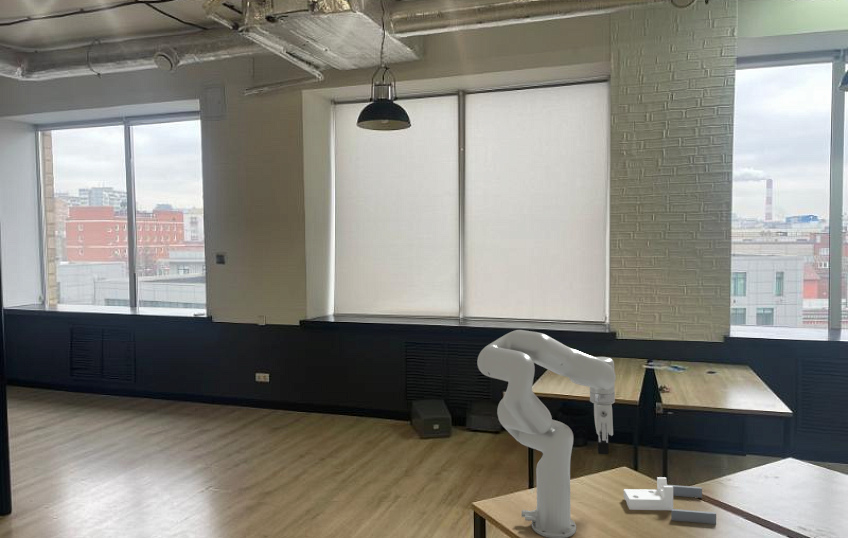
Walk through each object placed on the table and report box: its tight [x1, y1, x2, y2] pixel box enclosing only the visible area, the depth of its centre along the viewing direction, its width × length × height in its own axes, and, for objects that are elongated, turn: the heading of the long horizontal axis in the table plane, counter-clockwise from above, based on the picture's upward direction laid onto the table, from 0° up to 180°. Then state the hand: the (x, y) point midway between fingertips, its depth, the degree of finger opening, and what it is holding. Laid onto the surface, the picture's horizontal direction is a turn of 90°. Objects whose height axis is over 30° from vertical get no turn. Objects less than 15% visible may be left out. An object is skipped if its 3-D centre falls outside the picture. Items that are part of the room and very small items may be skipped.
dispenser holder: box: [667, 484, 717, 525], centre depth 176 cm, size 12×18×3 cm, turn 167°
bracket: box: [623, 476, 674, 511], centre depth 179 cm, size 13×7×8 cm, turn 85°
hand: (603, 453), depth 182 cm, fingers closed
